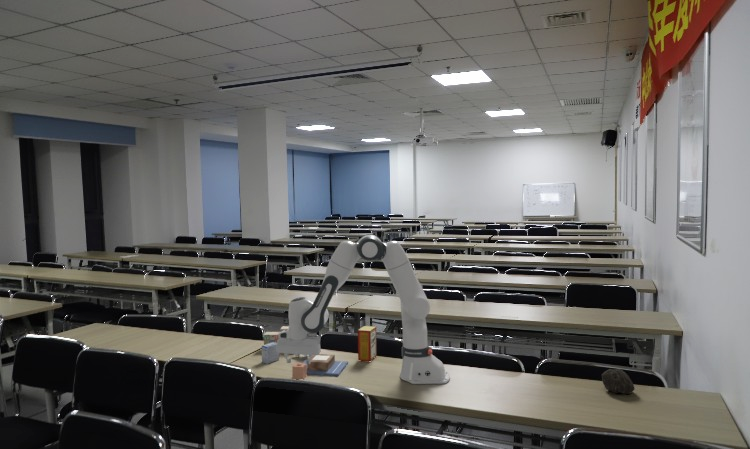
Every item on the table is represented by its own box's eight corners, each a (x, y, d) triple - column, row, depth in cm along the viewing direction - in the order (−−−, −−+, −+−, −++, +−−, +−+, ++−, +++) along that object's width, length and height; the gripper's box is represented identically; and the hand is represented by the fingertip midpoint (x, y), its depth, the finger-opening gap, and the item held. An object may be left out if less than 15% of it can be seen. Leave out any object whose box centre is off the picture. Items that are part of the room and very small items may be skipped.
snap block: (306, 376, 222) (306, 362, 222) (303, 380, 217) (302, 365, 217) (296, 375, 223) (296, 361, 223) (292, 379, 218) (292, 365, 218)
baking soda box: (364, 355, 252) (364, 325, 252) (376, 356, 250) (376, 325, 250) (358, 360, 243) (357, 329, 243) (370, 362, 241) (370, 330, 241)
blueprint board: (348, 363, 239) (347, 353, 239) (338, 376, 222) (338, 364, 222) (305, 361, 244) (305, 351, 243) (293, 373, 226) (292, 362, 226)
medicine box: (273, 358, 250) (273, 341, 249) (279, 359, 247) (279, 343, 247) (261, 362, 243) (261, 345, 243) (267, 364, 240) (267, 346, 240)
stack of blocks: (263, 351, 262) (263, 329, 262) (266, 348, 268) (265, 326, 268) (303, 351, 262) (302, 328, 262) (304, 347, 268) (304, 325, 268)
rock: (640, 393, 194) (635, 368, 194) (615, 399, 192) (610, 374, 193) (624, 387, 204) (619, 363, 204) (600, 392, 202) (595, 368, 203)
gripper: (322, 332, 220) (322, 362, 221) (280, 330, 224) (280, 359, 225) (318, 336, 214) (318, 366, 215) (274, 333, 218) (275, 364, 219)
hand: (298, 363), depth 220 cm, fingers open, 8 cm apart
